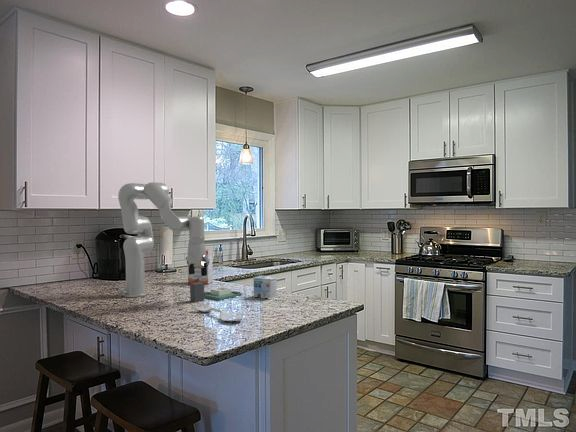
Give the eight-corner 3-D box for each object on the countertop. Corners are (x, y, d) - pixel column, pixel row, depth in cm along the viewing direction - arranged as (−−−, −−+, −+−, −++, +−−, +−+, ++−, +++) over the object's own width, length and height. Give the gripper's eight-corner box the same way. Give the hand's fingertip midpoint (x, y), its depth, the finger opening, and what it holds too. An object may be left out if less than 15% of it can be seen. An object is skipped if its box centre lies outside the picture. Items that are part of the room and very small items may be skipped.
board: (219, 301, 220) (219, 293, 220) (199, 296, 230) (199, 289, 230) (242, 295, 232) (242, 288, 232) (222, 291, 242) (221, 284, 242)
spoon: (208, 308, 206) (208, 301, 205) (248, 322, 182) (248, 314, 181) (190, 311, 200) (190, 304, 199) (230, 326, 176) (229, 318, 175)
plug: (195, 302, 217) (195, 284, 216) (190, 301, 219) (190, 283, 219) (205, 300, 222) (205, 282, 221) (200, 299, 224) (200, 281, 224)
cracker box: (187, 283, 267) (187, 249, 267) (192, 281, 273) (192, 248, 273) (208, 284, 263) (207, 250, 263) (212, 283, 269) (212, 249, 268)
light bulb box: (253, 297, 228) (253, 277, 228) (259, 295, 234) (259, 275, 234) (270, 299, 223) (270, 278, 223) (277, 297, 229) (277, 276, 229)
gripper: (180, 241, 222) (181, 274, 222) (202, 242, 211) (203, 277, 211) (192, 239, 227) (193, 272, 228) (214, 241, 216) (215, 275, 217)
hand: (197, 274), depth 219 cm, fingers open, 9 cm apart
